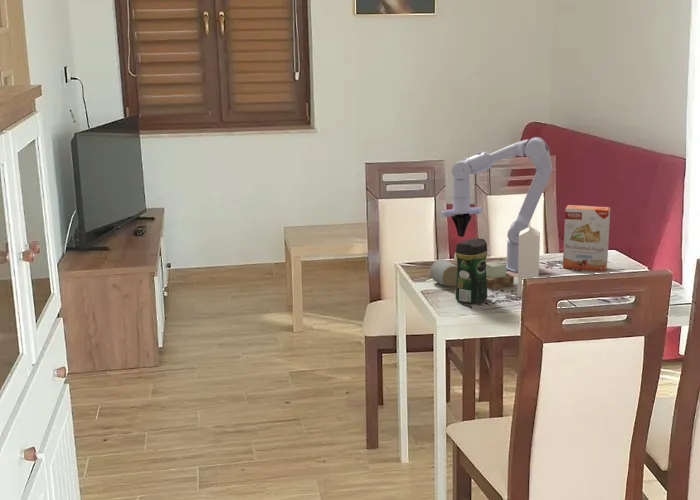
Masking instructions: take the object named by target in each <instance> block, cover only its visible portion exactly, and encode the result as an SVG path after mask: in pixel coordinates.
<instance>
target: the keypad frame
mask: <svg viewBox="0 0 700 500" xmlns="http://www.w3.org/2000/svg"><path fill="white" fill-rule="evenodd" d="M446 260H447V261H449V262H451V263H452V264H454V265H456V266H457V262H455V261H454V259H446ZM486 279H487V290H495V289H502V288H507V287H514V285H515V275H514V276H513V275H511V274H508V273H507V272H506V277H499V278H490V277H488V276H486Z"/></svg>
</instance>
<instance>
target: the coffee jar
mask: <svg viewBox="0 0 700 500" xmlns="http://www.w3.org/2000/svg"><path fill="white" fill-rule="evenodd" d="M455 254H456V257H457V280H456V286H455V300H456V301H458V302H459V303H462V304H478V303H480V302H483V301H485V300H486V299H487V298H488V288H487V279H486V261H487V256H488V243H487V241H486V239H484V238H479V237H472V238H470V239H466V240H462V241H460V242H457V243H456V244H455Z"/></svg>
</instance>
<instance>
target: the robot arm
mask: <svg viewBox="0 0 700 500" xmlns="http://www.w3.org/2000/svg"><path fill="white" fill-rule="evenodd" d="M513 156H519V157H521V158H522V157H524V156H526V157H527V158H528V160H530V162H532V164H533V166H534V167H535V171H536V172H535V174H534V176H533V177H532V178H533V179H532V181H531V183H530V186H529V189H528V190H527V193H526V196H525V198H524V200H523V202H522V205H521V207H520V210H519V213H518V214H517V217H516V219H515V221H513V222H512V223H511V225H510V227H509V229H508V231H507V238H508V240H506V242H507V244H506V270H508V271H510V272H513V273H514V272H515V273H518V250H519V234H520V231H522V230H524V229H526V228H528V227H529V224H531V220H532V218H533V215H534V213H535V211H536V209H537V206H538V203H539V202H540V198H541V196H542V195H543V192H544V189H545V187H546V186H547V185H546V184H547V182H548V180H549V177H550V175H551V173H552V170H553V162H552V158H551V155H550V148H549V146H548V144H547V143H546V142H545V140H544V139H543V138H542V137H539V136H534V137H531V138H530V139H523V140H520V141H516V142H514V143H512V144H509V145H507V146H505V147H502V148H500V149H498V150H496V151H493V152H491V153H489V152H487V151H481V150H480V151H478V152H476V154H475V155H473V156H470V157H467V156H466V157H464V158H463V160H458V161H457V162H456V163H455V164H454V165H453V166H452V168H451V174H452V176H453V177H452V181H453V183H452V208H451V209H446V210H441V211H440V217H441V218H447V217H451V219H452V221H453V224H454V226H455V228H456V233H457V236H458V237H460V238H463V237H465V235H466V231H467V227H468V225H469V223H470V221H471V219H472V215H474V214H479V215H481V214H482V207H479V206H476V207H471V206H470V205H471V202H470V201H471V199H470V198H471V182H470V176H471V175H475V174H477V173H478V174H479V173H481V172H483V171H486V170H488V169H490V168H491V167H492V165H493V163H496V162H498V161H502V160H505V159H508V158H510V157H513Z"/></svg>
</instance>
